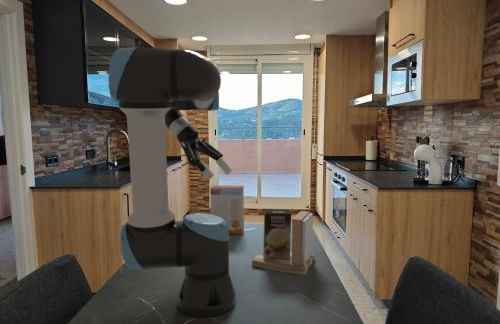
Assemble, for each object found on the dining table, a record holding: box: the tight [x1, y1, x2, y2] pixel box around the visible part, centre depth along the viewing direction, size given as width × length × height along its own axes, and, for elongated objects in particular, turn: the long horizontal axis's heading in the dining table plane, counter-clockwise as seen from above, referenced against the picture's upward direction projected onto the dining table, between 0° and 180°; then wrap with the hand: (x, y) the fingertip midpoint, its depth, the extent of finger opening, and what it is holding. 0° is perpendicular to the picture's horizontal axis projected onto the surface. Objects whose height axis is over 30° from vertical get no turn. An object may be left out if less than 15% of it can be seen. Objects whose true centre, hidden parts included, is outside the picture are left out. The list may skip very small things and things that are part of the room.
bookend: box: [292, 212, 314, 267], centre depth 112 cm, size 11×4×15 cm, turn 157°
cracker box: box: [210, 184, 245, 235], centre depth 148 cm, size 14×6×21 cm, turn 84°
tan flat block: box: [291, 210, 310, 265], centre depth 113 cm, size 11×3×15 cm, turn 157°
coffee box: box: [262, 208, 292, 260], centre depth 116 cm, size 9×6×16 cm
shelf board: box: [251, 249, 315, 276], centre depth 116 cm, size 14×18×2 cm
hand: (221, 175), depth 119 cm, fingers open, 13 cm apart
